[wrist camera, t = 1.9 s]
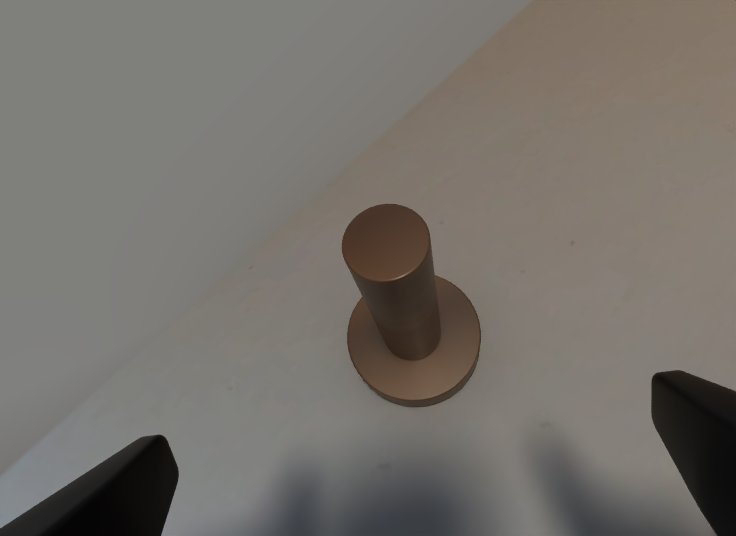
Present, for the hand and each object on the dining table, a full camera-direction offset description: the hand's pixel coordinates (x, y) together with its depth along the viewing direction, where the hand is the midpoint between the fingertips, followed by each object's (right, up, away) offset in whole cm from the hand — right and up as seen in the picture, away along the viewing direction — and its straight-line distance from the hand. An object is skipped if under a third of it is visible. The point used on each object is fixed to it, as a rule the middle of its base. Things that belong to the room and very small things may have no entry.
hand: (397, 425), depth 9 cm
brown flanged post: (+2, 0, +12) cm, 12 cm away
